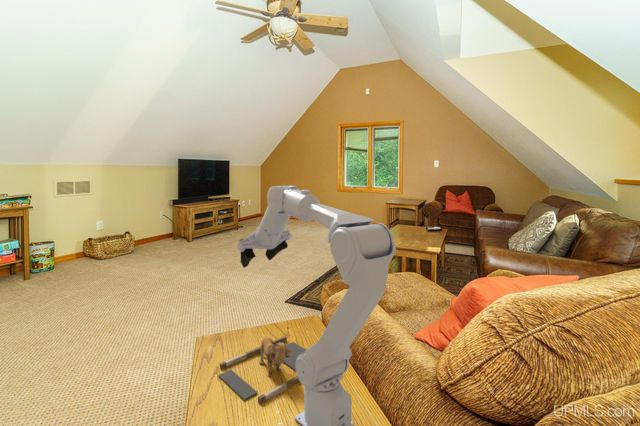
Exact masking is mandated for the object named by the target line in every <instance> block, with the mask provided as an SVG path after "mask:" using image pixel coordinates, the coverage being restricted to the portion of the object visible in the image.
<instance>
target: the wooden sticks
mask: <svg viewBox="0 0 640 426" xmlns="http://www.w3.org/2000/svg"><path fill="white" fill-rule="evenodd" d="M287 337H288V336H287V335H286V336H285V335H284V336H282V337H280V338H277V339H275V340H272V341H273V344H276V343H279V342H280V343H284V342H287V341H288V339H287ZM259 351H261V345H260V346H258V347H256V348H253V349H251V350H248V351H245V352H244V353H241V354H238V355H237V356H234V357H232V358H230V359H227V360H225V361H223V362H220V363H219V369H220V370H222V369H225V368H227V367H229V366H232V365H234V364H236V363H239V362H241V361H243V360H246V359H248V358H250V357H252V356H255V355H256V354H259V353H258V352H259ZM299 382H300V381H299V379H298V376H297V375H296V376H294V377H292V378H290V379H288V380H286V381H285V382H283V383H281V384H279V385H278V386H275V387H273V388H272V389H270V390H268V391H266V392H264V393H263V394H261V395H259V396H258V397H257V403H258V404H262V403H263V402H267V400H269V399H271V398H273V397H275V396H276V395H279V394H280V393H283V392H284V391H285V390H287V389H289V388H290V387H293V386H294V385H296V384H298V383H299ZM300 383H301V382H300Z"/></svg>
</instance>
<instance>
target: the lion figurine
mask: <svg viewBox="0 0 640 426" xmlns="http://www.w3.org/2000/svg"><path fill="white" fill-rule="evenodd" d="M273 341H274V340H273V339H272V338H271V337H270V336H269V337H268V336H265V337H264V338H263V339H262V340H261V343H260V346H261V351H259V352H258V353H257V354H260V359H259V365H264V364H265V361H264V357H266V361H267V371H268V373H267V377H269V378H272V377H273V376H274V373H273V370H272V369H273V368H272V367H275V372H276V373H277V374H281V373H282V369H280V366H281V365H282V364H284V362H285V358H289V356H290V355H291V352H292V351H291V350H289V349H288V348H287V347H285V345H286V344H285V343H284V342H283V343H280V342H279V343H276V344H273Z"/></svg>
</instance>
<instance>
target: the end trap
mask: <svg viewBox="0 0 640 426" xmlns="http://www.w3.org/2000/svg"><path fill="white" fill-rule="evenodd" d="M217 376H218V378H220V379H221V380H222V381H223V383H225V384H226V385H227V386H228V387H229V388H230V389H231V390H232V391H233V392H234V393H235V394H236V395H238V396H239V397H240V399H242V400H243V401H246V400H247V401H248V399H250V398H253V397H254V396H256V395H258V391H257V390H256V389H255V388H253V386H251V385H250V384H249V383H247V381H245V380H244V379H243V378H241V377H240V376H239V375H238V374H237V373H236V372H235V371H234V370H233V369H228V370H226V371H224V372H222V373H220V374H218V375H217Z"/></svg>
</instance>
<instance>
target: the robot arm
mask: <svg viewBox="0 0 640 426" xmlns="http://www.w3.org/2000/svg"><path fill="white" fill-rule="evenodd" d="M266 195H267V196H266V201H267V207H266V210H265V212H264V214H263V216H262V218H261V220H260V223H259V225H258V226H257V227H255V231H254V232H253V233H252V234H250V235H249V236H247V237H246V238H241V239H239V240H238V242H237V245H236V248H237V249H238V251H239V252H240V264H241V265H242V267H243V268H246V267H248V266H249V265H250V263H251V261H252V260H253V259H254V258H256V254H255V252H254V250H265V254H264V255H265V256H266V258H267V260H268V261H271V260H272V259H273V258H275V257H276V256H277V255H278V254H279V253H280V252H282V251H283V250H286V249H287V248H288V246H289V245H288V243H287V242H286V241H289V240H290V239H291V237H292V234H291V232H290V231H289V230H288V229H286V230H285V228H286V226H287V224H288V223H289V220H290V219H291V217H293V218H296V219H298V220H300V221H302V222H306V223H308V222H309V223H310V222H311V221H312V222H313V221H315V222H316V223H318V224H320V225H321V226H323V227H325V228H327V229H328V230H329V231H328V234H327V243H329V245H330V247H329V248H330V252H331V254H332V258H333V260H334V263H335V265H336V266H337V269H338V272H339V274H340V276H341V279H342V282H343V283H344V284H345V285H347V286H349V287H348V288H347V290H346V292H345V294H344V295H343V297H342V299H341V300H340V303H339V305H338V306H337V308H336V310H335V312H334V313H333V314H332V317H331V318H330V320H329V322H328V323H327V325H326V327H325V330H323V333H322V334H321V336H320V338H319V339H318V340H317V341H316V342H315V343H312V345H310V346H309V347H308V348H305V349H306V351H305V353H304V354H301V355H299V356H298V357H297V360H296V366H295V367H296V371H295V373H296V376H298V379H299V381H300V384H301V385H302V386H304V388H303V389H304V391H303V393H304V397H303V398H304V400H303V401H304V403H303V405H304V409H303V411H301V412H300V413H299V414H297V415H296V416H295V417H294V419H295V421H297V423H299V424H300V425H301V426H354V425H355V424H354V421H353V420H352V403H353V402H352V401H353V400H352V396H351V393H349V392H348V391H347V390H346V389H345V388H344V385H342V382H341V380H343V378H344V376H343V375H344V374H345V373H346V372H347V371H348V369H349V366H350V360H351V357H352V356H353V352H352V350H351V345H352V344H353V342H354V340H355V339H356V337H357V336H358V334H359V333H360V331H361V330H362V328H363V327H364V325H365V324H366V322H367V321H368V319H369V318H370V316H371V314H372V313H373V311H374V309H375V308H376V307H377V305H378V304H379V301H380V300H381V299H382V297H383V296H384V294H385V291H386V288H387V283H388V275H389V269H390V264H391V263H390V262H391V261H392V259H393V258H394V256H395V255H396V253H397V247H396V243H395V241H394V236H393V233H392V231H391V230H390V228H389V227H388V225H386V224H384V223H382V222H375V220H374V219H372V218H371V217H368V216H364V215H361V214H356V213H354V212H353V213H352V212H349V211H346V210H342V209H339V208H336V207H332V206H330V205H329V206H328V205H325V204H322V203H321V201H320V200H319V198H318V197H317V196H316V195H314V194H312V193H311V190H310V189H300V188H298V187H297V186H296V185H275V186H274V185H273V186H270V188H268V191H267V194H266ZM373 222H374V223H373ZM371 223H372V224H371Z"/></svg>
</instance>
